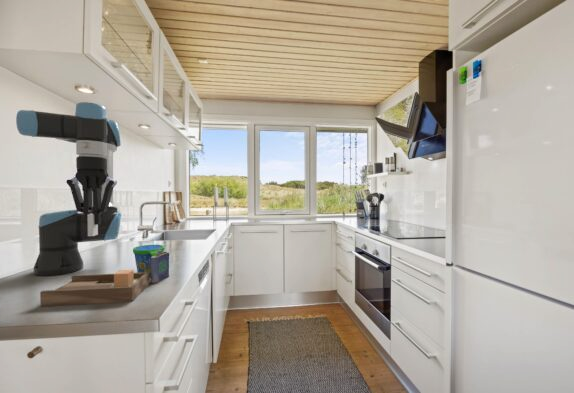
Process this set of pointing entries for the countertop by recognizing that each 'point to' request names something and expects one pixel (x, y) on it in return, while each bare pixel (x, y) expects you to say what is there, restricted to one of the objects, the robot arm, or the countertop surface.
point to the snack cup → (145, 256)
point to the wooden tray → (94, 290)
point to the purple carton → (159, 266)
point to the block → (123, 278)
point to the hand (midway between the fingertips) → (92, 235)
